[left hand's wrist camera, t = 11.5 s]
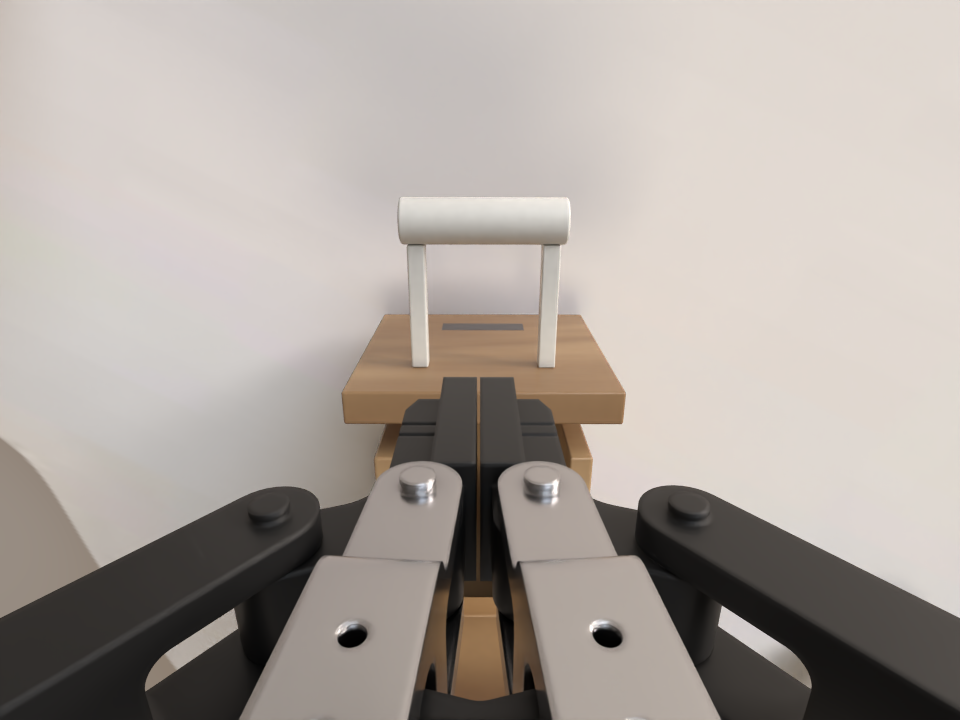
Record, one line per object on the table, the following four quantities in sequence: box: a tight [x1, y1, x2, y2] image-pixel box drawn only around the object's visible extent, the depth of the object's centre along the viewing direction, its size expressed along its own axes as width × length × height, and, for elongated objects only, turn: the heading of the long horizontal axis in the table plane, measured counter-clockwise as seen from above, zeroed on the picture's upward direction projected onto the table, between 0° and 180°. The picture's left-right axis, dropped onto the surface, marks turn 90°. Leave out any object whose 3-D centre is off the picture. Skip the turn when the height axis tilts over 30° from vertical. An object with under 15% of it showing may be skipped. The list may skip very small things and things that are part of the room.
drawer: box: [342, 197, 626, 597], centre depth 25 cm, size 23×9×9 cm, turn 0°
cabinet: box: [454, 597, 506, 701], centre depth 29 cm, size 18×11×11 cm, turn 0°
